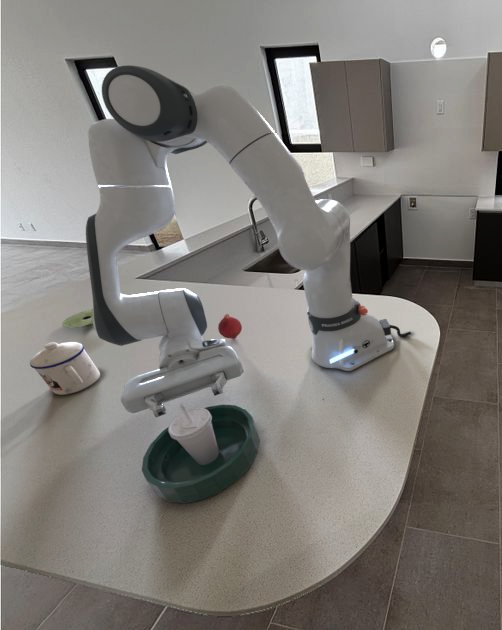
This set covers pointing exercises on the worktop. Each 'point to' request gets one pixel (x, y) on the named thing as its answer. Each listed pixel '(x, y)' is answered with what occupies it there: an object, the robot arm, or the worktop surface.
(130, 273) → the worktop surface
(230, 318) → the onion
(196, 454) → the smoothie
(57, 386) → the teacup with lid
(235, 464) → the green round tray
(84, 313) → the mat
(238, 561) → the worktop surface
